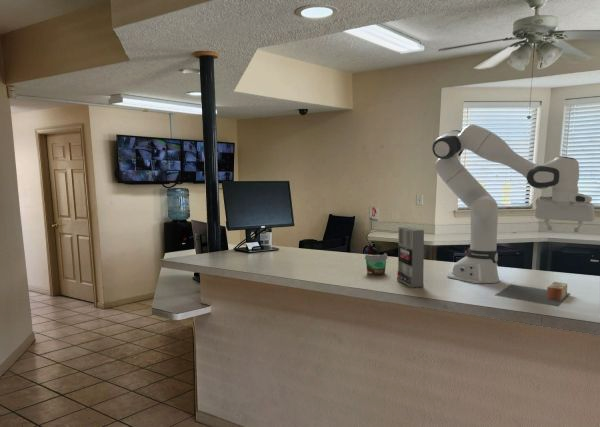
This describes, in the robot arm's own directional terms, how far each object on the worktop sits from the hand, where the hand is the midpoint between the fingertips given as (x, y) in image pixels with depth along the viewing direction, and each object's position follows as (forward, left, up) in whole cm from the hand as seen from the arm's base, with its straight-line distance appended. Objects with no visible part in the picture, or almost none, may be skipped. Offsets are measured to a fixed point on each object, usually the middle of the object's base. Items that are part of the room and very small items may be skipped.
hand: (562, 231), depth 165 cm
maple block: (+1, -4, -23) cm, 23 cm away
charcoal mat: (-7, -12, -25) cm, 29 cm away
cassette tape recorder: (-53, -27, -25) cm, 65 cm away
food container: (-73, -21, -25) cm, 80 cm away
